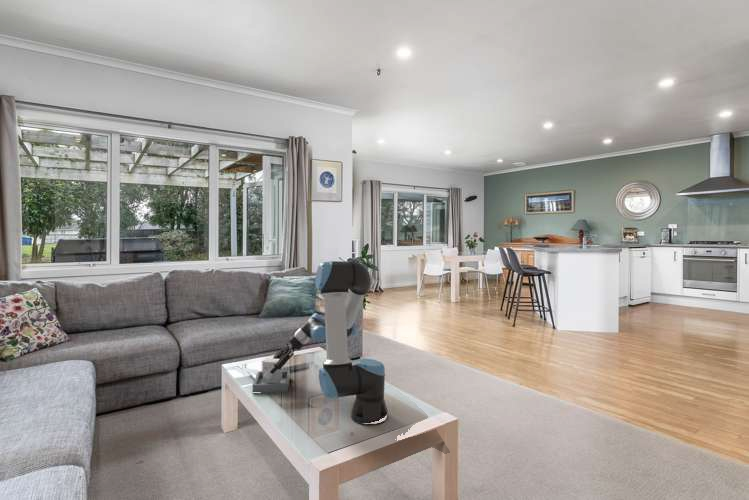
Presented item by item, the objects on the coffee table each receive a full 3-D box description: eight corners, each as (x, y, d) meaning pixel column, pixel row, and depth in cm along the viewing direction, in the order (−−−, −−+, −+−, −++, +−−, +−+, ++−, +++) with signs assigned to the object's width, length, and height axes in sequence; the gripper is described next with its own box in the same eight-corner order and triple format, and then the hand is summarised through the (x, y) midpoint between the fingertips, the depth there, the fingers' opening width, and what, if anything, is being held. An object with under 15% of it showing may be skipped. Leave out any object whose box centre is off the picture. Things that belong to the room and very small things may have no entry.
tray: (287, 392, 185) (287, 384, 185) (252, 393, 183) (252, 385, 183) (289, 378, 203) (290, 370, 203) (257, 379, 201) (258, 371, 200)
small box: (282, 379, 195) (282, 358, 195) (278, 383, 190) (278, 362, 189) (266, 378, 196) (266, 357, 196) (262, 382, 190) (262, 361, 190)
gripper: (307, 350, 187) (272, 387, 183) (301, 339, 207) (269, 372, 202) (296, 340, 185) (260, 377, 181) (291, 329, 205) (258, 362, 200)
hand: (265, 374), depth 192 cm, fingers closed on small box, 8 cm apart
